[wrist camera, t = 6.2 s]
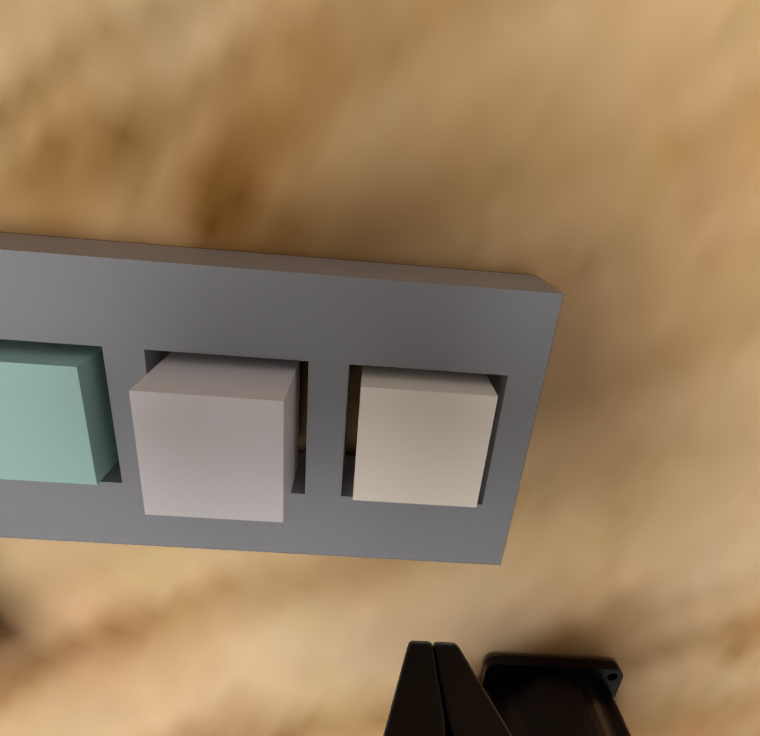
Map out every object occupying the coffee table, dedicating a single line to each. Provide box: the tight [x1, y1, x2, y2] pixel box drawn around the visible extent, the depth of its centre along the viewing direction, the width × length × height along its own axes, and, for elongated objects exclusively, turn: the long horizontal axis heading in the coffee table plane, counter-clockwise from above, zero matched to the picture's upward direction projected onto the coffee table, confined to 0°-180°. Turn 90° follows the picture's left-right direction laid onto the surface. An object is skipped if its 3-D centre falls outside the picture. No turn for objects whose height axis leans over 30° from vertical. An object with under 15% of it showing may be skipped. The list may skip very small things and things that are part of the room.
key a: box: [353, 365, 498, 507], centre depth 16 cm, size 4×4×3 cm
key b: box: [129, 352, 300, 523], centre depth 15 cm, size 4×4×3 cm
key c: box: [0, 339, 119, 485], centre depth 16 cm, size 4×4×3 cm
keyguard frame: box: [0, 232, 564, 565], centre depth 16 cm, size 25×10×2 cm, turn 85°
